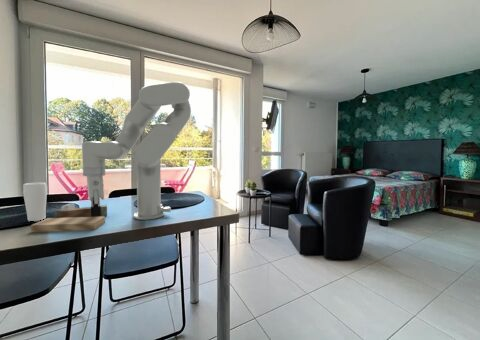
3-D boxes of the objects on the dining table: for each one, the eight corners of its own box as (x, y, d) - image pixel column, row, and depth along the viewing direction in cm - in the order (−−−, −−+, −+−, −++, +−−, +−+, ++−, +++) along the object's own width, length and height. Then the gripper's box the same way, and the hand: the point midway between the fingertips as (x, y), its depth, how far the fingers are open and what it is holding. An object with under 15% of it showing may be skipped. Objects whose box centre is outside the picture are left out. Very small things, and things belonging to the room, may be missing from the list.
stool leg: (54, 222, 82) (53, 211, 82) (55, 220, 85) (54, 209, 84) (107, 215, 92) (106, 205, 92) (106, 213, 95) (106, 204, 94)
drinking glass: (33, 223, 82) (31, 185, 80) (20, 221, 83) (17, 184, 82) (52, 218, 88) (50, 182, 87) (39, 216, 90) (37, 181, 88)
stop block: (75, 211, 98) (74, 203, 97) (68, 215, 93) (67, 206, 93) (69, 212, 97) (68, 203, 97) (62, 215, 92) (61, 206, 92)
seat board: (106, 221, 85) (106, 215, 85) (94, 229, 76) (94, 223, 76) (50, 223, 82) (49, 217, 82) (31, 232, 73) (30, 225, 73)
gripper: (107, 173, 82) (108, 219, 84) (103, 170, 94) (104, 210, 95) (83, 173, 78) (85, 222, 79) (82, 170, 89) (83, 213, 91)
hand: (95, 215), depth 87 cm, fingers closed
